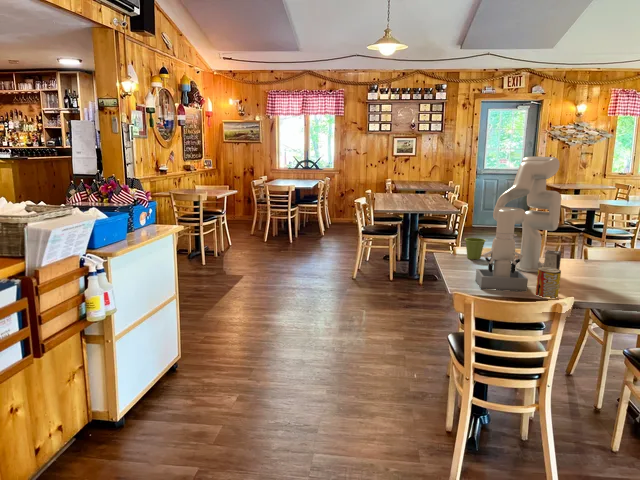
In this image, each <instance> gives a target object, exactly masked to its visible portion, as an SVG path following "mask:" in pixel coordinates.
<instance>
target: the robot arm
mask: <svg viewBox="0 0 640 480" xmlns="http://www.w3.org/2000/svg"><path fill="white" fill-rule="evenodd" d="M559 170H560V160H559V158H557V157H555V156H526V157H524V158H522V160H521V163H520V164H519V167H518V169H517V172H516V175H515V178H514V181H513V184H512V186H511V187H510V188H509V189H507V190H506V191H504V192H503V193H502V194H501V195H500V196H499V197H498V198H497V200H496V202H495V206H494V209H493V212H492V214H493V215H492V216H493V219H494V221H496V230H495V231H496V232H495V233H496V234H495V237H493V240H492V243H491V249H490V250H489V251H487V252H484V253H483V257H484V259H485V261H487V262H488V267H487V269H488V270H489V271H490V272H492V270H493V268H494V261H495V260H499V259H502V260H509V261H511V272H512V273H514V271H516V270H517V271H520V272H527V273H538V268H540V267H544V262H541V261H540V258H541V257H540V256H541V248H542V241H543V237H542V234H541V233H540V231H541V230H542V231H549V232H553V231H556V230H557V229H558V227H559V223H560V216H561V206H562V205H561V204H562V197H561V194H560V192H558V191H556V190H548V189H547V180H549V179H551V178H552V177H553V176H555V175H556V174H557V173H558V171H559ZM522 197H523V198H524V197H526V204H527V206H528V207H529V208H533V209H541V210H525V209H523V208H520V207H512V206H506V205H507V204H508V203H509V202H511V201H513V200H516V199H519V198H522ZM542 210H548V211H542ZM515 225H521V227H522V229H521V230H522V233H521V234H522V235H521V244H520V252H517V251H516V241H515V238H517V236H518V234H517V233H515ZM489 255H490V258H489V257H488V256H489ZM516 257H517V258H516Z"/></svg>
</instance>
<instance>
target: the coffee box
mask: <svg viewBox="0 0 640 480" xmlns="http://www.w3.org/2000/svg"><path fill="white" fill-rule="evenodd" d="M561 260H562V250H552V249H551V250H550V249H547V250H546V251H545V253H544V262H543V263H544V267H549V268H555V269H559V270H561V269H560V267H561Z"/></svg>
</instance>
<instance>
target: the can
mask: <svg viewBox="0 0 640 480" xmlns="http://www.w3.org/2000/svg"><path fill="white" fill-rule="evenodd" d="M511 264H512V261H509V260H502V259H499V260H495V261H494V262H493V268H492V270H493V277H509V278H510V270H511Z"/></svg>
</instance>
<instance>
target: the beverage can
mask: <svg viewBox="0 0 640 480" xmlns="http://www.w3.org/2000/svg"><path fill="white" fill-rule="evenodd" d="M536 275H537V277H536V286H535V287H536V288H535V294H536V295H539V296H542V297H550V298H556V297H558V298H559V290H560V284H561V275H562V270H561V269H555V268H549V267H540V268H538V272H537V274H536ZM536 295H535V296H536Z"/></svg>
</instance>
